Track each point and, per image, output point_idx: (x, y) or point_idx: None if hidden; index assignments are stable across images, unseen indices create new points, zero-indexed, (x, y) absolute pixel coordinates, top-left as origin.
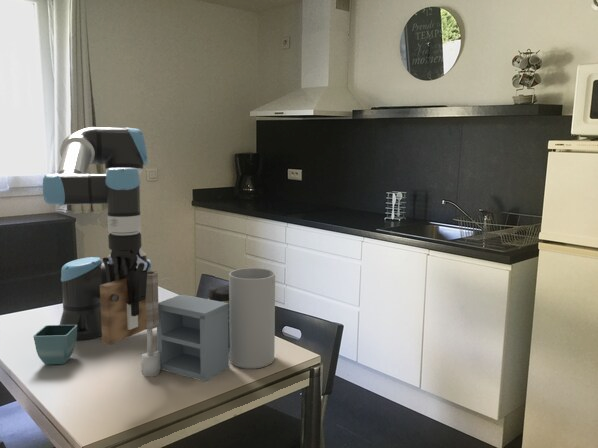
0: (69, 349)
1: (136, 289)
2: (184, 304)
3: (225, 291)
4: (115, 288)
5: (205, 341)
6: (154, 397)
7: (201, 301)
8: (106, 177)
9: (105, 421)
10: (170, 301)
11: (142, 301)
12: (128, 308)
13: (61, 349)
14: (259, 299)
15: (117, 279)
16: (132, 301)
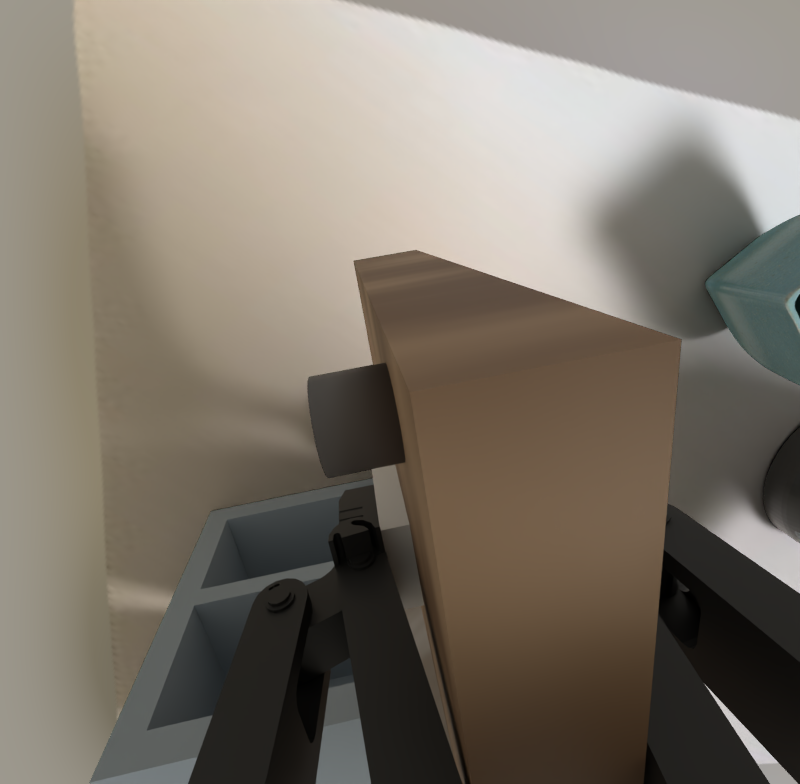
0: (735, 312)
1: (256, 725)
2: (334, 774)
3: None
4: (423, 540)
5: (160, 628)
6: (233, 342)
7: None
8: None
9: (193, 113)
10: None
11: (429, 642)
12: (384, 501)
13: (749, 274)
14: None
15: (680, 742)
16: (337, 565)
